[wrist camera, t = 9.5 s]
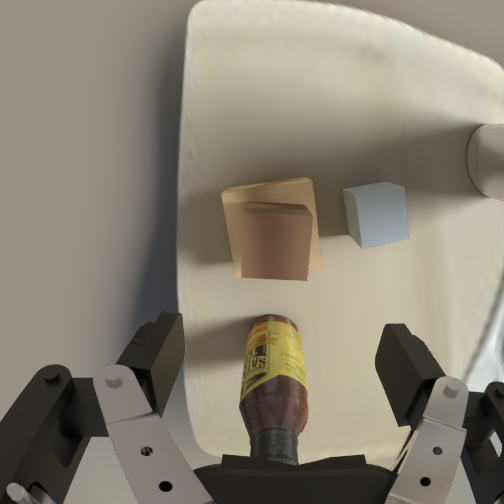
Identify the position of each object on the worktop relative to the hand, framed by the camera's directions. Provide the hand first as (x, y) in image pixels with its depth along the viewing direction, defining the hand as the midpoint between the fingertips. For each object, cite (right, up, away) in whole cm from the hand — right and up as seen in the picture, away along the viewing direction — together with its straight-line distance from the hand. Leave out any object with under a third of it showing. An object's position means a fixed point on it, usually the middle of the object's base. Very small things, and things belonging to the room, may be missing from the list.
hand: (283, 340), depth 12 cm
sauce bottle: (+1, -7, +25) cm, 26 cm away
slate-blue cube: (+11, +8, +20) cm, 24 cm away
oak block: (+1, +7, +21) cm, 22 cm away
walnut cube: (+1, +5, +16) cm, 17 cm away
